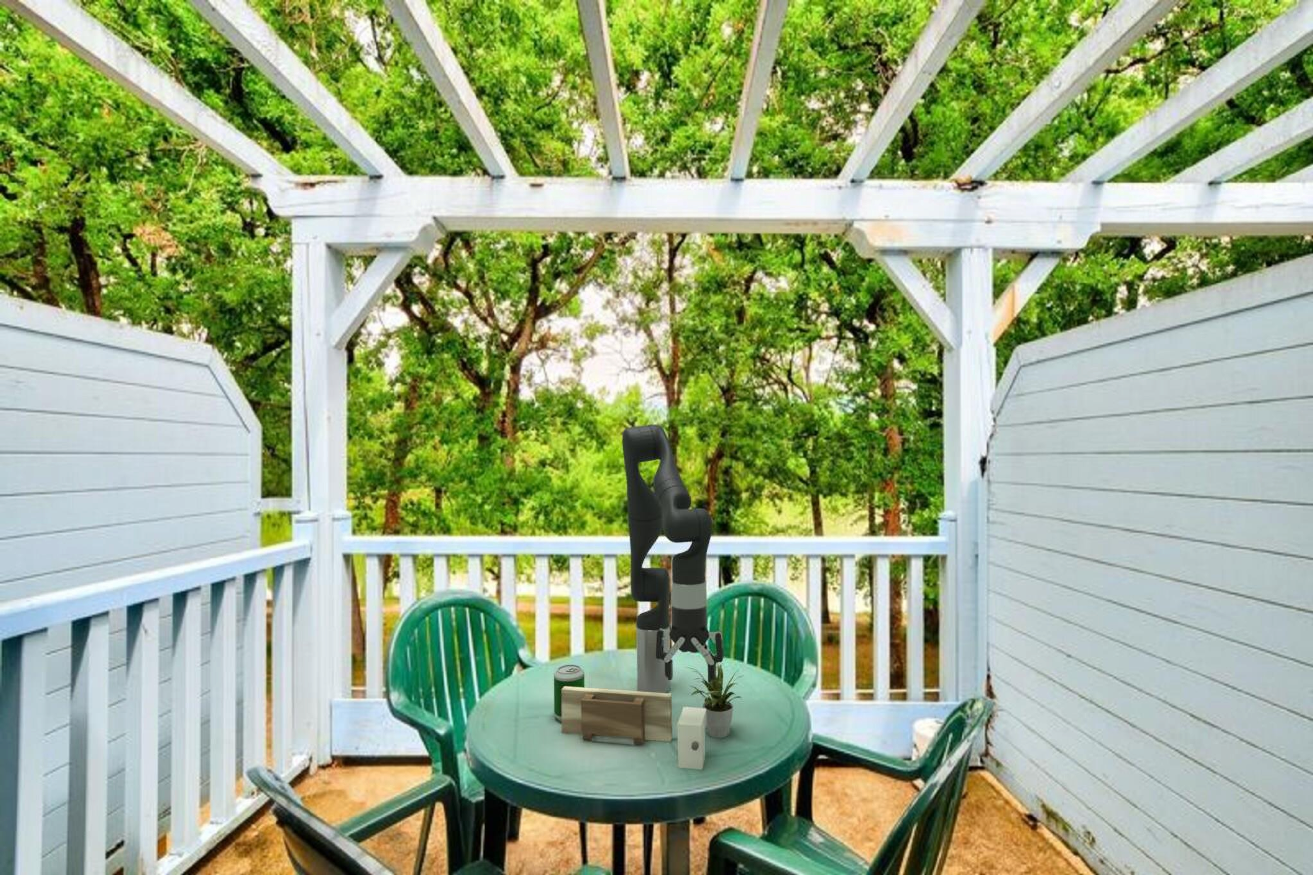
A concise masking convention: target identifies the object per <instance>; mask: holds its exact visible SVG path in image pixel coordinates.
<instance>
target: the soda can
mask: <svg viewBox="0 0 1313 875" xmlns="http://www.w3.org/2000/svg"><path fill="white" fill-rule="evenodd" d="M564 686H568V687H582V688H586V687H585V686H586V685H585V670H584V669H583V668H582V666H580V665H577V664H564V665H561V666H558V668H556V670H555V672H554V673H553V706H554V707H553V708H554V709H553V712H554V713H553V714H554V717H555V718H556V719H557V720H558V721H559V722H561V723H562V691H561V690H562V688H563V687H564Z"/></svg>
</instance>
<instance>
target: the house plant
mask: <svg viewBox="0 0 1313 875" xmlns="http://www.w3.org/2000/svg"><path fill="white" fill-rule="evenodd" d="M703 659H704V660H705V662H706V665H707V667H708V662H707V660H706V659H705V658H704V657H703ZM722 665H723V664H720V663H719V662H718V663H716V664H715V678H714V680H712V683H709V682H708V680H706V679H705V678H704V676H703V675H702V674H701V673H700V672H699V671H698V670H697V669H696V668H692V667H689V669H692V670H693V672H695V673H697V674H698V675H699V676H700V677H701V678H700V677H698V678H694V679H693V680H698V681H697V683H699V682H702V683H703V684H704V686H705V687H706V688H707V691H708V692H706V691H703V690H699V689H698V688H697V687H695V686H693V685H690V687H691V688H694V689H695V690H694V691H693V692H692V693H691V696H693V695H697V694H700V695H701V696H702V697H703V698H704V703H703V704H702V708H706V731H707V734H708V736H710V737H712V738H716V739H717V738H718V739H721V738H722V739H723V738H726V737H728V736H729V735H730V732H731V727H732V726H731V724H732V719H733V718H732V716H733V710H734V706H733V703H732V702H731V701H733V700H734V699H736V698H737V699H738V698H739V699H741V700H743V698H742V697H741V696H734V697H733V698H731V699H729V698H730V697H732V695H736V693H735V692H733V691H729V690H730V688H732V687H733V686H734V685H738V683H734V682H735V681H736V680H737V679H739V678H741V677H743V675H740V676H738V677H737V678H736V679H734V680H733V678H734V677H735V676H736V673H737V672H738V670H736V671H735V672H734V674H732V677H731V678H730V680H729V681H728V682H727V684H726V686H725V689H724V687H723V685H724V670H723V668H722ZM685 668H687V669H688V666H687V667H685ZM732 680H733V682H731V681H732ZM723 690H724V692H723ZM703 693H704V694H703Z"/></svg>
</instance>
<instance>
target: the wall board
mask: <svg viewBox="0 0 1313 875" xmlns="http://www.w3.org/2000/svg"><path fill="white" fill-rule="evenodd" d="M561 691H562V722H561V733H562V734H563V733H564V734H575V735H582V740H586V741H592V739H593V738H594V737H595V736H598V737H599V736H600V737H609V738H610V737H611V738H620V739H621V738H625V739H633V745H640V746H641V745H642V746H643V745H644V742H645V740H646V741H655V740H656V742H657V741H658V742H669V743H671V741H672V740H673V711H672V710H673V709H672V708H673V706H672V704H673V701H672V699H673V698H672V695H673V694H672V693H670V692H669V693H668V692H666V693H654V692H640V691H638V690H636V691H635V690H623V689H612V688H611V689H607V688H597V687H596V688H593V687H585V688H582V687H568V686H564V687H563V688H562V690H561Z"/></svg>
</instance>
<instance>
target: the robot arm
mask: <svg viewBox="0 0 1313 875" xmlns="http://www.w3.org/2000/svg"><path fill="white" fill-rule="evenodd" d="M621 438H622V439H621V440H622V441H621V443H622V445H621V446H622V453H623V462H624V471H625V477H626V478H625V479H626V494H627V496H626V497H627V523H628V536H629V546H630V547H629V548H630V593H631V598H632V600H634V601H635V602H638V603H657V605H655V606H654V607H653V608H651V609H649V610H647V611H644V612H641V613H639V614H638V615H637V616H636V621H635V623H636V667H637V668H636V678H637V680H636V683H637V686H636V688H637V691H640V692H654V693H668V692H669V691H670V690H671V681H672V679H673V677H674V672H673V671H674V666H673V665H674V664H673V659H672V658H673V657H674V656H675V655H676V653H678V651H680V652H681V653H688V652H689V653H692V654H697V653H698V652H699V654H700V655H701V656H702V657H703V659H704V658H705V659H706V660H707V662H708V666H707V682H708V683H712V680H714V678H715V664H716V665H717V663H718V664H719V663H722V662H723V661H724V656H725V655H724V654H725V652H724V641H723V631H722V630H719V629H718V630H717V631H709V630H708V612H707V610H708V606H707V604H708V603H707V589H706V571H705V570H706V565H705V564H706V558H707V554H708V549H709V546H710V542H711V538H712V534H713V528H714V527H713V525H714V524H713V519H712V516H711V515H710V513H709V511H708V510H707V509H704V508H691V505H692V497H691V495H690V493H689V491H688V489H687V486H686V485H685V483H684V481H683V480H682V478H681V475H680V472H679V470H678V467H677V463H676V461H675V457H674V453H673V451H672V448H671V444H670V441H669V439H668V436H667V434H666V431H665V429H664V428H663V427H662V426H661V425H659V424H654V423H653V424H647V425H644V424H643V425H638V426H632V427H631V426H630V427H626V428H625V429H624V430H623V431H622V436H621ZM657 460H659V465H658V467H657V470H656V472H655V475H654V477H653V482H652V488H653V490H652V489H651V488H650V486H649V485H648V483H647V482H646V481H645V479H644V477H643V476H642V474H641V472H640V469H639V465H640V463H645V462H651V461H653V462H654V461H657ZM662 531H663V534H664V536H665V538H666V539H667V540H668V541H670V542H672V543H676V544H678V543H679V544H680V543H681V544H684V543H691V544H690V546H689V548H688V549H687V550H684V551H682V552H679V553H677V554H675V555H674V556H672V559H671V577H670V572H669V570H668V569H667V568H665V567H643V564H644V562H645V560H646V557H647V555H648V553H649V552H650V550H651V549H652V547H654V545H655V543H656V542H657V540H658V539H659V537H660V535H661V534H662ZM670 578H671V580H670ZM671 582H672V583H671ZM670 588H671V593H670ZM670 606H671V609H670ZM670 610H671V614H670ZM670 615H671V623H670ZM670 624H671V627H670ZM670 628H671V629H670ZM709 639H711V640H712V643H713V644H715V650H716V654H715V655H714V653H713V652H712V651H711V650H710V647H709V645H708V644H707V641H709ZM671 640H672V642H673V645H672V646H671ZM705 659H704V660H705Z"/></svg>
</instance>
